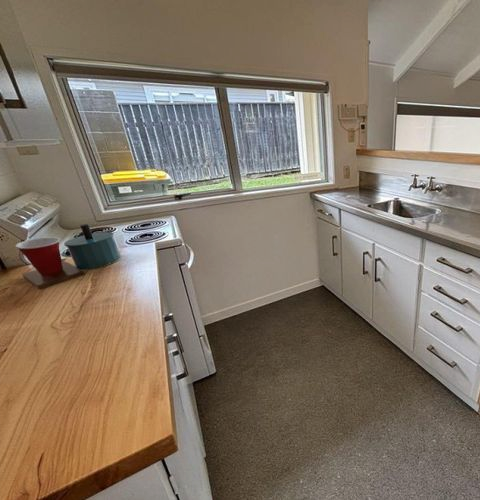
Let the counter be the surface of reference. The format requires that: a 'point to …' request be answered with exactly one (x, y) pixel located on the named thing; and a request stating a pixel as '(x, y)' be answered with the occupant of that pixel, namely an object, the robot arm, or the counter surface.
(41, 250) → the plastic cup
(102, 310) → the counter surface
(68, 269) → the board
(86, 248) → the pot
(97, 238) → the pot lid
